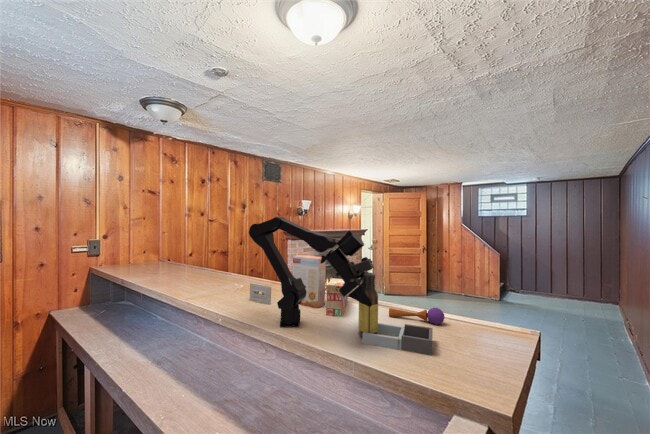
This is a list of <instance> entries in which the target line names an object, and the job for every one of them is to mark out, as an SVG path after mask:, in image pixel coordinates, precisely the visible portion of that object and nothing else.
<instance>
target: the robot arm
mask: <svg viewBox="0 0 650 434" xmlns="http://www.w3.org/2000/svg"><path fill="white" fill-rule="evenodd" d="M279 230H281V231H282V232H285V233H287V234H289V235H291V236H292V237H295V238H297V239H300V240H302V241H304V242H305V243H306V244H307V245H308V246H309V247H311V248H312V249H314V251H316V252H318V253H326V252H327V253H326V254H322V255H321V256H320V257H321V263H325V262H326V263H328V264H329V265H330V266H331V267H332V268H333V270H334V271H335V276H336V277H340V279H342V280H343V281H344V282H345V283H344V285H343V286H342V287H341V288H340V293H341V294H342V296H343V297H345V296H346V295H347V294H348V298H350V299H353V300H355V301H357V302H358V303H359V302H361V303H363V304H365V305H367V306H369V307H371V306H372V303H371V301H370V300H369V298H368V297H367V295H366V293H365V292H364V290H363V273H370V272H369V271H371V270H373V269H375V267H374V264H373V260H372V259H371V258H368V257H367V256H365V257H362V258H361V259H360V262H358V263H355V262H354V261H352V260H351V261H350V260H349V259H348V258H347V257H348V256H350V257H353V256H354V255H355V254H356V253H357V252H359V250H361V249H362V248H363V247H365V243H364V241H363V240H362V238H361V237H360V236H358V235H357V234H356V233H354V232H353V231H352V230H348V231H347V232H346V233H345V234H344V235H343V236H342V237H341V238H339V239H337V238H333V237H332V235H330V234H326V233H324V232H318V231H312V230H310V229H308V228H306V227H303V226H301V225H299V224H298V223H295V222H293V221H291V220H288V219H287V218H285V217H283V216H274V217H273V218H271V219H269V220H268V219H267V220H266V221H263V222H259V223H253V224H252V225H251V226H250V227H249V229H248V235H249V238H250V239H251V240H252V241H253V242H254V244H256V245H257V246H258V247H260V248H261V249H262V250H263V252H264V254H265V256H266V258H267V260H268V261H269V263H270V265H271V267H272V269H273V270H274V273H275V274H276V276H277V277H278V280H279V282H280V284H281V285H280V286H281V287H280V288H281V294H282V297H281V298H280V299H279V300H278V301H277V302H276V303H277V307H278V309H280V322H279V327H280V328H281V327H294V328H295V327H299V326H300V323H301V309H300V305H302V304H301V302H302V300H303V299H304V298H305V297H306V293H307V292H306V289H305V288H306V286H305V285H304V284H303V282H302V279H301V278H298V279H296V278H295V277H293V273H292V272H291V269H290V268H289V267H288V265H287V263H286V261H285V260H284V258H283V256H282V254H281V252H280V251H279V249H278V247H277V246H276V243H275V235H274V233H275V232H277V231H279ZM333 248H335V249H334V250H333Z"/></svg>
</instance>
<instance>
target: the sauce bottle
mask: <svg viewBox="0 0 650 434" xmlns="http://www.w3.org/2000/svg"><path fill="white" fill-rule="evenodd" d="M375 280H376V274H375V273H373V272H369V273H363V290H364V292H365V293H366V295H367V297H368V298H369V300H370V301H371V303H372V306H371V307H369V306H367V305H365V304H363V303H361V302H359V301H358V326H357V327H358V335H359V336H360V337H361V338H362V339H363V332H366V333H372V334H378V333H377V331H378V323H379V294H378V292H377V291H376V286H375V283H376V282H375Z"/></svg>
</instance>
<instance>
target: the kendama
mask: <svg viewBox="0 0 650 434" xmlns="http://www.w3.org/2000/svg"><path fill="white" fill-rule="evenodd" d="M388 317H389V318H399V317H400V318H401V317H403V318H404V317H418V318H419V319H422V320H423V321H425V322H427V321H429V322H430V323H431V324H433V325H436V326H437V325H441V324H442V323H444V321H445V314H444V311H442V309H440V308H438V307H432V308H431V307H430V309H428V311H427V309H424V310H422V311H419V312H414V311H413V312H412V311H407V310H401V309H396V308H389V309H388Z"/></svg>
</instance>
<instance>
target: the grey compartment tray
mask: <svg viewBox="0 0 650 434" xmlns="http://www.w3.org/2000/svg"><path fill="white" fill-rule="evenodd" d="M433 333H434V331H433V327H428V326H421V325H414V324H407V323H405V324H404V326H400V325H394V324H388V323H380V322H378V331H377V334H372V333H366V332H363V338H362V344H364V345H365V344H366V345H371V346H378V347H382V348H389V349H395V350H400V351H405V352H412V353H415V354H416V353H417V354H423V355H428V356H433V337H434V336H433Z"/></svg>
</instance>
